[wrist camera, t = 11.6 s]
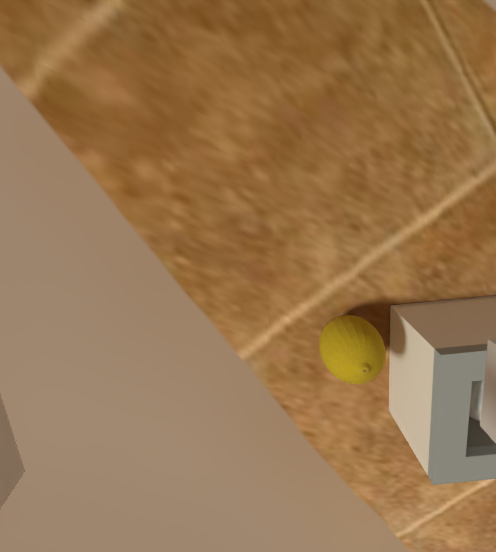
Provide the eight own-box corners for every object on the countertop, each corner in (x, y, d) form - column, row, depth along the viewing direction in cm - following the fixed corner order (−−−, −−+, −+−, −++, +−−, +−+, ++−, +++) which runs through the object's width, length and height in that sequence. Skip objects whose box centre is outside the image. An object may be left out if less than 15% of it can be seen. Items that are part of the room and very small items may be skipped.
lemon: (374, 307, 39) (408, 345, 32) (359, 358, 41) (387, 405, 33) (319, 298, 39) (340, 334, 31) (306, 349, 40) (322, 396, 33)
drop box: (390, 305, 39) (440, 355, 30) (512, 293, 39) (602, 339, 30) (388, 410, 43) (433, 484, 33) (501, 399, 43) (577, 470, 33)
